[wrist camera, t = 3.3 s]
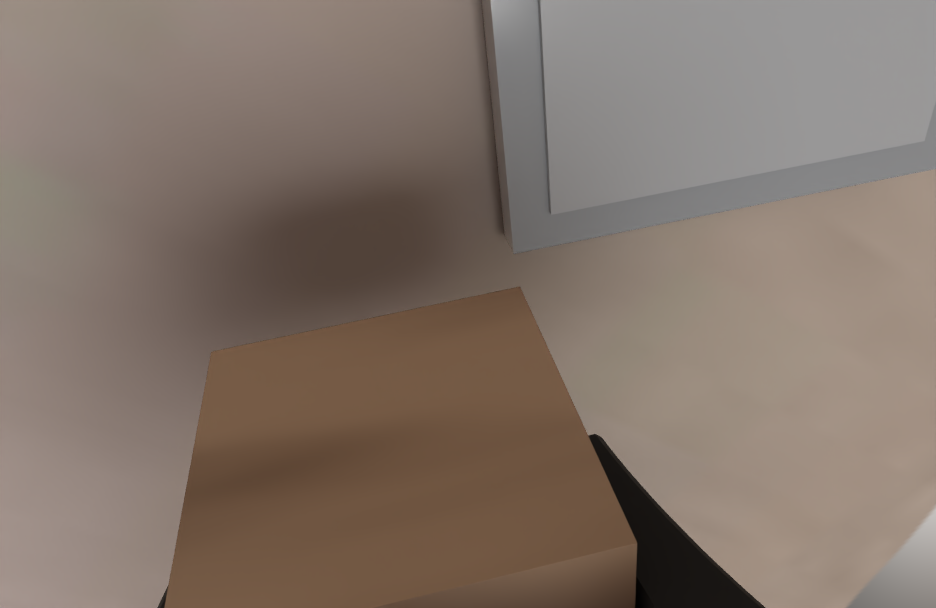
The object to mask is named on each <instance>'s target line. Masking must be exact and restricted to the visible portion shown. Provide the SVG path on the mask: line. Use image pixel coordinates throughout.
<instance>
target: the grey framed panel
mask: <svg viewBox="0 0 936 608" xmlns="http://www.w3.org/2000/svg"><path fill="white" fill-rule="evenodd" d="M482 9H483V19H484V29H485V39H486V50H487V60H488V70H489V80H490V90H491V101H492V111H493V121H494V131H495V141H496V152H497V162H498V172H499V182H500V192H501V203H502V213H503V223H504V233H505V237H506V239H507V241H508V243H509V245H510V247H511V249H512V252H513V254H516V253H521V252H526V251H531V250H536V249H541V248H546V247H551V246H556V245H561V244H566V243H571V242H576V241H581V240H586V239H591V238H596V237H600V236H605V235H610V234H615V233H620V232H625V231H630V230H635V229H640V228H645V227H650V226H655V225H660V224H665V223H670V222H675V221H680V220H685V219H690V218H695V217H700V216H705V215H710V214H714V213H719V212H724V211H729V210H734V209H739V208H744V207H749V206H754V205H759V204H764V203H769V202H774V201H779V200H784V199H789V198H794V197H799V196H804V195H809V194H814V193H819V192H823V191H828V190H833V189H838V188H843V187H848V186H853V185H858V184H863V183H868V182H873V181H878V180H883V179H888V178H893V177H898V176H903V175H908V174H913V173H918V172H923V171H928V170H932V169H936V0H482Z"/></svg>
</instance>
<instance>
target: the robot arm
mask: <svg viewBox="0 0 936 608" xmlns="http://www.w3.org/2000/svg"><path fill="white" fill-rule="evenodd" d="M588 437H589V439H590V441H591V443H592V445H593V447H594V450H595V452H596V454H597V456H598V458H599V461H600V463H601V465H602V467H603V469H604V471H605V474H606V476H607V478H608V480H609V482H610V485H611V487H612V489H613V491H614V493H615V495H616V498H617V500H618V502H619V504H620V506H621V509H622V511H623V513H624V515H625V517H626V520H627V522H628V524H629V526H630V528H631V530H632V533H633V535H634V537H635V539H636V541H637V564H636V595H635V608H765V607H764V606H763V605H762V604H761V603H760V602H758V601H757V600H756V599H755V598H754V597H753V596H752V595H750V594H749V593H748V592H747V591H746V590H745V589H744V588H743V587H742V586H741V585H739V584H738V583H737V582H736V581H735V580H734V579H733V578H732V577H731V576H730V575H729V574H727V573H726V572H725V571H724V570H723V569H722V568H721V567H720V566H719V565H718V564H717V563H716V562H715V561H714V560H713V559H712V558H710V557H709V556H708V555H707V554H706V553H705V552H704V551H703V550H702V549H701V548H700V547H699V546H698V545H697V544H696V543H695V542H694V541H693V540H692V539H691V538H690V537H689V536H688V535H687V534H686V533H685V532H684V531H683V530H682V529H681V528H680V527H679V526H678V524H677V523H676V522H675V521H674V520H673V519H672V518H671V517H670V516H669V515H668V514H667V513H666V512H665V511H664V510H663V509H662V508H661V507H660V506H659V505H658V504H657V502H656V501H655V500H654V499H653V498H652V497H651V496H650V495H649V494H648V493H647V491H646V490H645V489H644V488H643V487H642V486H641V485H640V484H639V482H638V481H637V480H636V479H635V478H634V477H633V476H632V474H631V473H630V472H629V471H628V470H627V469H626V467H625V466H624V465H623V464H622V463H621V461H620V460H619V459H618V458H617V456H616V455H615V454H614V453H613V451H612V450H611V449H610V448H609V446H608V445H607V444H606V442H605V441H604V440H603V438H601V437H600V436H598V435H596V434H593V435H589V436H588ZM167 591H168V587H167V589H166V591H165V593H164V595H163V597H162V600H161V602H160V604H159V606H158V608H164V607H165V602H166V596H167Z"/></svg>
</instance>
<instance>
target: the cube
mask: <svg viewBox="0 0 936 608" xmlns="http://www.w3.org/2000/svg"><path fill="white" fill-rule="evenodd" d="M636 564H637V541H636V539H635V537H634V535H633V533H632V530H631V528H630V526H629V524H628V522H627V520H626V517H625V515H624V513H623V511H622V509H621V506H620V504H619V502H618V500H617V498H616V495H615V493H614V491H613V489H612V487H611V485H610V482H609V480H608V478H607V476H606V474H605V471H604V469H603V467H602V465H601V463H600V461H599V458H598V456H597V454H596V452H595V450H594V447H593V445H592V443H591V441H590V439H589V437H588V434H587V432H586V430H585V428H584V426H583V423H582V421H581V419H580V417H579V415H578V413H577V410H576V408H575V406H574V404H573V402H572V399H571V397H570V395H569V393H568V391H567V389H566V386H565V384H564V382H563V380H562V378H561V375H560V373H559V371H558V369H557V367H556V365H555V362H554V360H553V358H552V356H551V354H550V351H549V349H548V347H547V345H546V343H545V341H544V338H543V336H542V334H541V332H540V330H539V327H538V325H537V323H536V321H535V319H534V317H533V314H532V312H531V310H530V308H529V306H528V303H527V301H526V299H525V297H524V295H523V293H522V290H521V288H520V287H515V288H511V289H506V290H501V291H496V292H492V293H487V294H482V295H478V296H473V297H468V298H463V299H459V300H454V301H449V302H444V303H440V304H435V305H430V306H426V307H421V308H416V309H411V310H407V311H402V312H397V313H392V314H388V315H383V316H378V317H373V318H369V319H364V320H359V321H355V322H350V323H345V324H340V325H336V326H331V327H326V328H321V329H317V330H312V331H307V332H302V333H298V334H293V335H288V336H284V337H279V338H274V339H269V340H265V341H260V342H255V343H250V344H246V345H241V346H236V347H232V348H227V349H222V350H217V351H213V352H211V356H210V362H209V367H208V373H207V378H206V384H205V389H204V395H203V400H202V405H201V411H200V416H199V422H198V427H197V433H196V438H195V444H194V449H193V454H192V460H191V465H190V471H189V476H188V482H187V487H186V493H185V498H184V504H183V509H182V514H181V520H180V525H179V531H178V536H177V542H176V547H175V553H174V558H173V564H172V569H171V574H170V580H169V585H168V591H167V596H166V602H165V607H164V608H635V595H636Z"/></svg>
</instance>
